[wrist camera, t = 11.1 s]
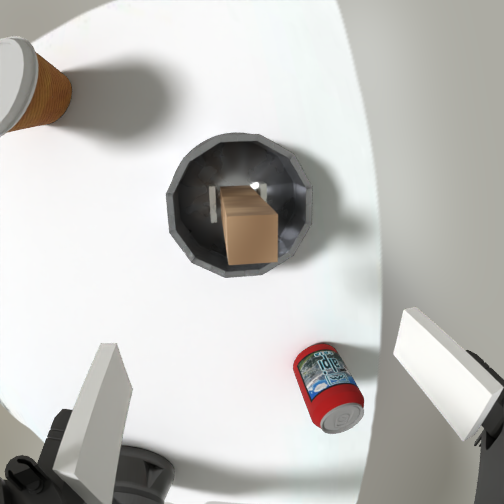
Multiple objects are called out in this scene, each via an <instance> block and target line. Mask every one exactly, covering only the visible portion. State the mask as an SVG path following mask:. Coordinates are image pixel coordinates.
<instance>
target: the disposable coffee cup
mask: <svg viewBox="0 0 504 504" xmlns="http://www.w3.org/2000/svg"><path fill="white" fill-rule="evenodd" d="M71 95H72V87H71V83H70V81H69V79H68V78H67V77H66V76H65V75H64V74H63V73H61V72H60V71H59V70H58V69H56V68H55V67H54V66H53V65H51V64H50V63H49V62H48V61H46V60H45V59H44V58H43V57H41V56H40V55H39V54H38V53H36V52H35V50H34V48H33V46H32V45H31V44H30V42H29V41H28V40H26V39H25V38H23V37H18V36H12V37H7V38H1V39H0V137H1V136H2V135H4V134H5V133H7V132H11V131H16V130H20V129H25V128H30V127H35V126H40V125H46V124H50V123H53V122H55V121H57V120H58V119H59V118H60V117H61V116H62V115H63V114H64V113H65V111H66V109H67V108H68V106H69V104H70V100H71Z"/></svg>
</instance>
